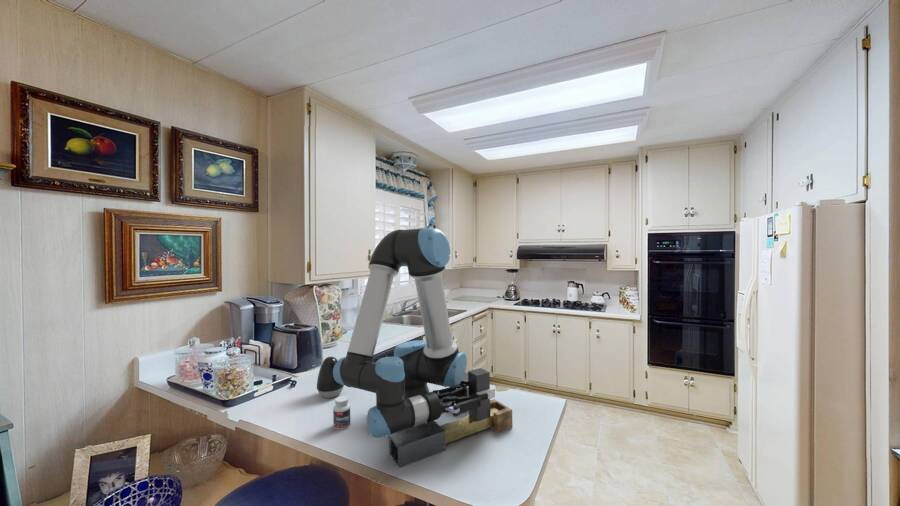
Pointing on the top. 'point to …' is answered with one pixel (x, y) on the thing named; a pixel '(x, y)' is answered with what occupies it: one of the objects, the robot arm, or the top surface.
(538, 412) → the top surface
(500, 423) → the open wooden box
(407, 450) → the sleeve
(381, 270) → the robot arm
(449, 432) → the grey yellow upright-t piece
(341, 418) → the pill bottle
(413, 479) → the top surface
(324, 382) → the black egg shape
